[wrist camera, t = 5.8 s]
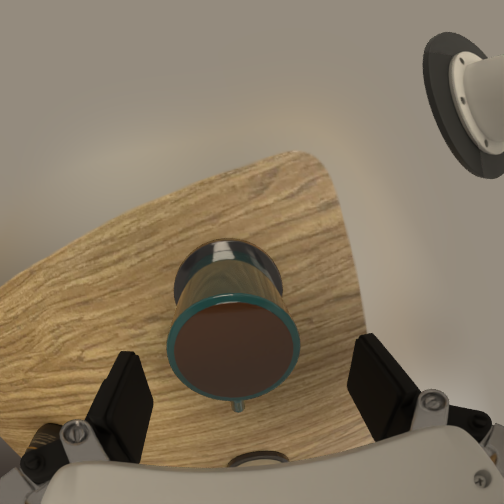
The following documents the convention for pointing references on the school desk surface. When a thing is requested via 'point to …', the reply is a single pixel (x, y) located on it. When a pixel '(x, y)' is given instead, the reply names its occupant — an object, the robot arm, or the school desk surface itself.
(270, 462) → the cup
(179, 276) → the saucer front
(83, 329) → the school desk surface
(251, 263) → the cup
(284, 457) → the dark grey round coaster
